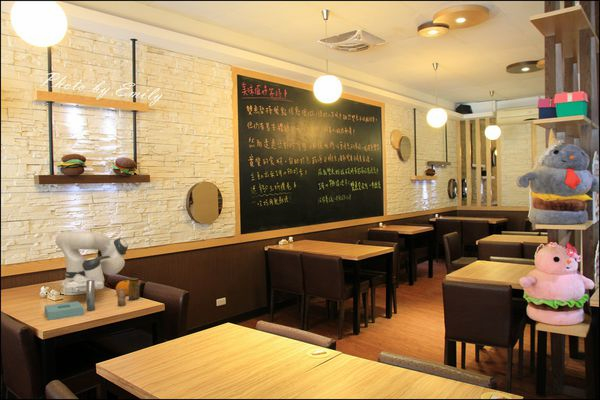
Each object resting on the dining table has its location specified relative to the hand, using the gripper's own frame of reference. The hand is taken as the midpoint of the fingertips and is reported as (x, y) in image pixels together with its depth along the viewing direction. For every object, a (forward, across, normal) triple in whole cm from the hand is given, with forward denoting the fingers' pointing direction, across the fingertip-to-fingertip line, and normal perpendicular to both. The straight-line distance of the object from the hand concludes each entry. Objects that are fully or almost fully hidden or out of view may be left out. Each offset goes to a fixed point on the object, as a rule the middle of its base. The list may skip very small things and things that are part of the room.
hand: (87, 289), depth 248 cm
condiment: (0, -26, -10) cm, 27 cm away
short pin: (+12, -16, -9) cm, 21 cm away
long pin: (+12, 0, -9) cm, 15 cm away
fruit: (-14, -25, -10) cm, 30 cm away
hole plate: (+12, +13, -9) cm, 20 cm away
